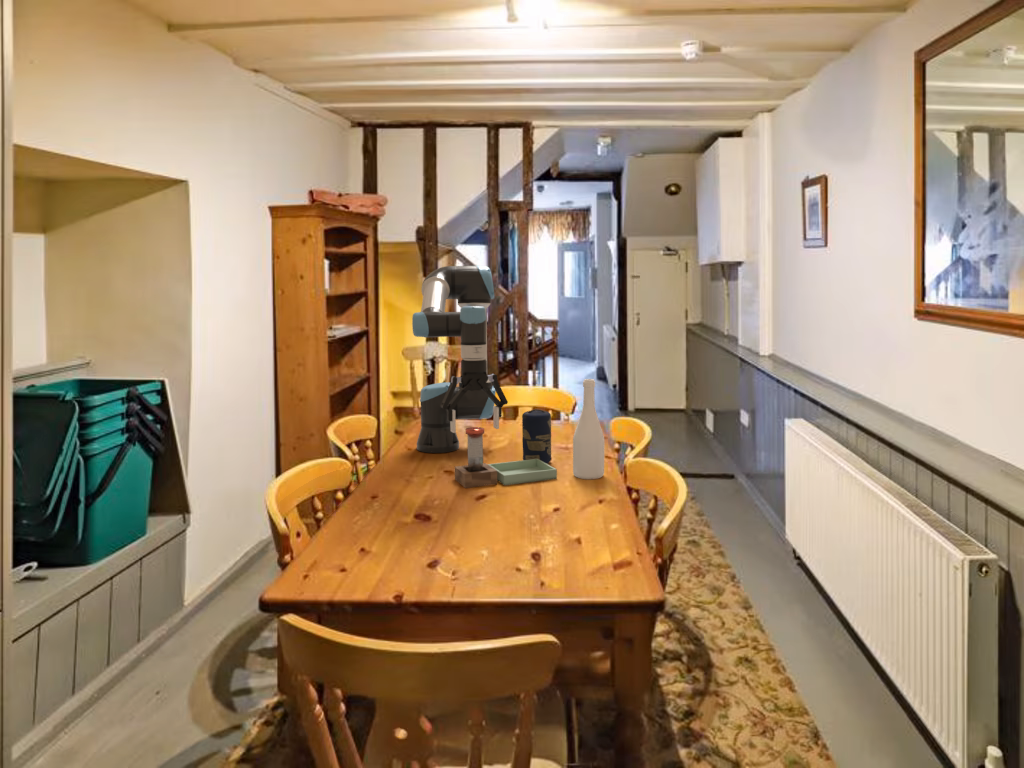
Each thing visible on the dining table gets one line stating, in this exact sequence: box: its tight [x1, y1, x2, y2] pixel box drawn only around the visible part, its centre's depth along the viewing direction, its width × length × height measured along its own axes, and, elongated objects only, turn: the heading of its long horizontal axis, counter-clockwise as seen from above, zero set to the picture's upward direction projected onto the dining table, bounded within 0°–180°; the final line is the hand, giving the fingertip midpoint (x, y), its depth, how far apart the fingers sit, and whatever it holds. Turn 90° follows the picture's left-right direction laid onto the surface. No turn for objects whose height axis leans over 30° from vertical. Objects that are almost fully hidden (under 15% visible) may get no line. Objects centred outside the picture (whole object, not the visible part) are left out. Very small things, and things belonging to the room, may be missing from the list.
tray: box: [486, 459, 558, 486], centre depth 229 cm, size 14×17×3 cm
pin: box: [465, 426, 485, 472], centre depth 223 cm, size 6×6×16 cm
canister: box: [521, 408, 552, 464], centre depth 244 cm, size 10×10×18 cm
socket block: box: [454, 462, 498, 489], centre depth 224 cm, size 10×10×4 cm
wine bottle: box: [572, 378, 605, 480], centre depth 227 cm, size 10×10×30 cm
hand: (474, 430), depth 221 cm, fingers open, 13 cm apart
